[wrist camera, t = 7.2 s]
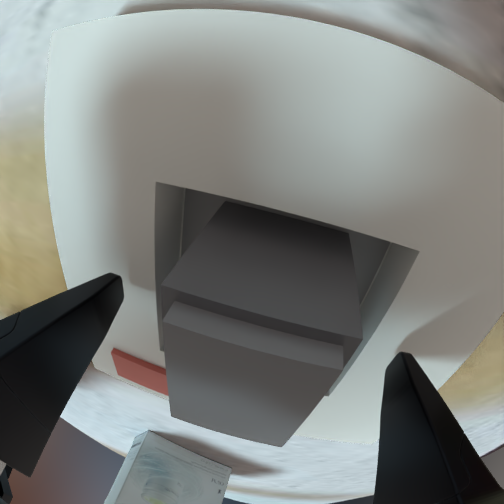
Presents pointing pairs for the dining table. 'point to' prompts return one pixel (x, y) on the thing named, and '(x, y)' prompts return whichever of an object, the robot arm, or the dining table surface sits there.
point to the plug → (258, 323)
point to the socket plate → (278, 179)
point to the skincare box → (167, 475)
